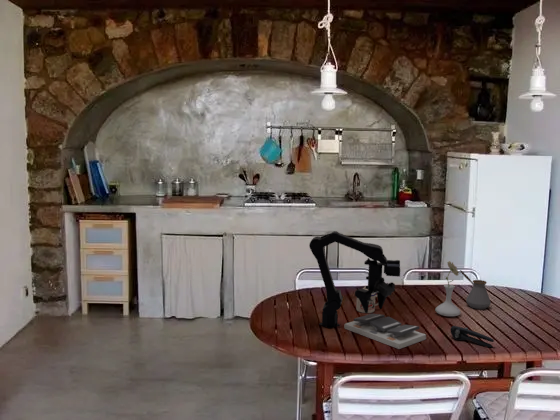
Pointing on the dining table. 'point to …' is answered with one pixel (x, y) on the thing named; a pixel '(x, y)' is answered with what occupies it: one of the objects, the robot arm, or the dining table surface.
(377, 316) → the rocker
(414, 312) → the dining table surface
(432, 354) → the dining table surface
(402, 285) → the dining table surface
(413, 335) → the switch panel
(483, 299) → the coffee pot
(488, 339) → the can opener
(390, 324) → the panel
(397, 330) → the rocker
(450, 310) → the flower in vase
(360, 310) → the teacup with lid
